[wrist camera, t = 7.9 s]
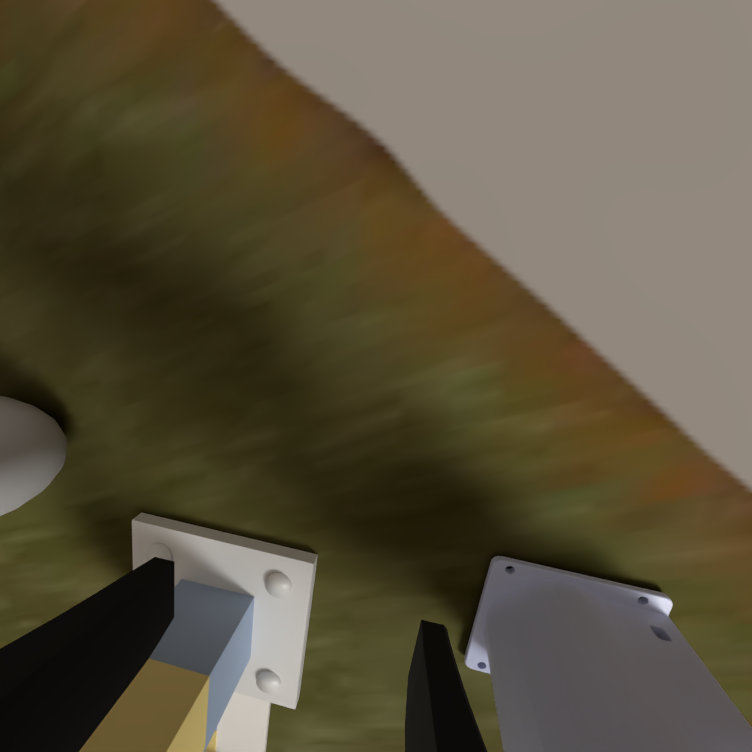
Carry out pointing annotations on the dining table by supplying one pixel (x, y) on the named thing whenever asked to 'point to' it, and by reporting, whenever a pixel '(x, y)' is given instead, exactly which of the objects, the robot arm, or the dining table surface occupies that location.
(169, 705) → the mustard block
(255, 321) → the dining table surface
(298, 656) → the plate
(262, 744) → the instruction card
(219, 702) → the slate block
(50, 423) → the donut
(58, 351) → the dining table surface
